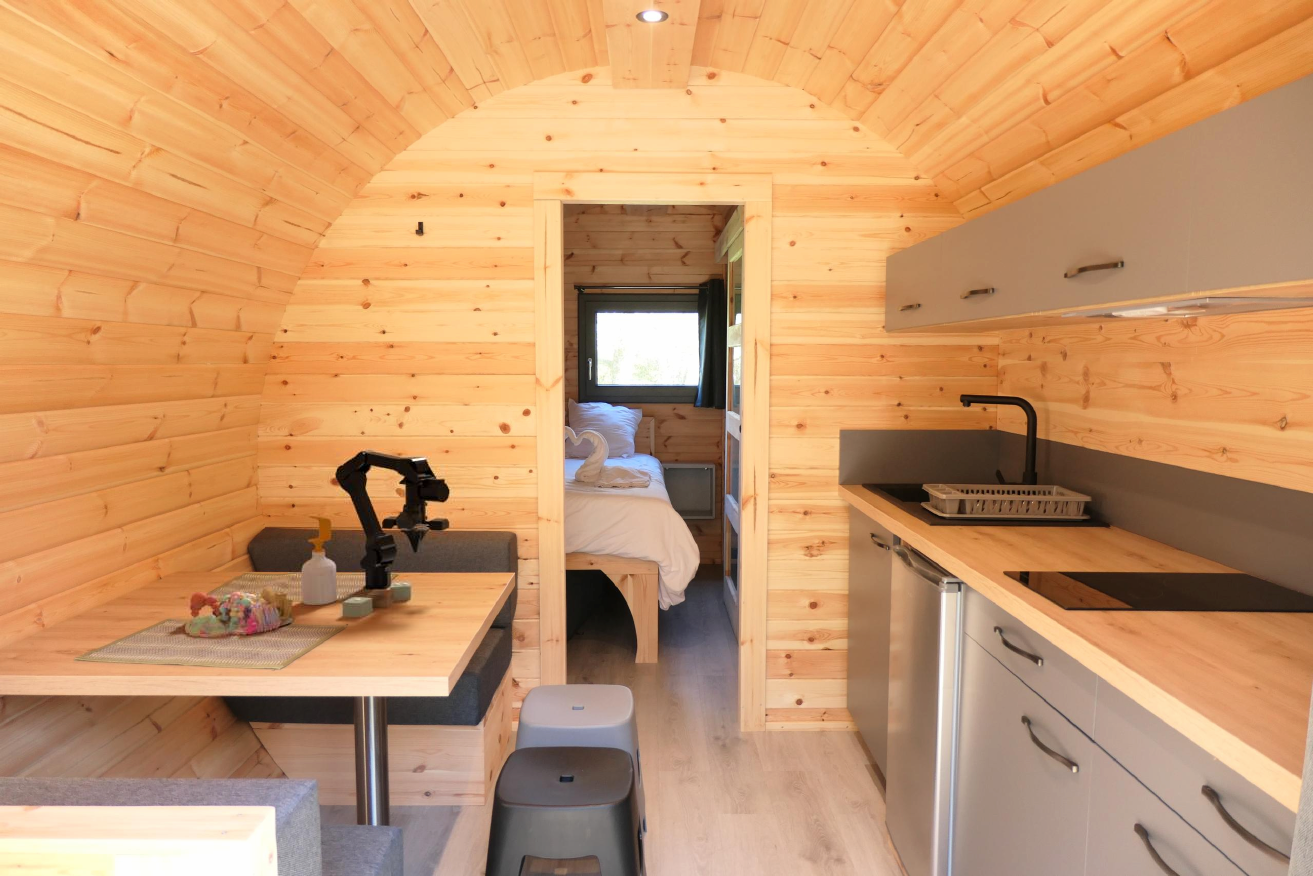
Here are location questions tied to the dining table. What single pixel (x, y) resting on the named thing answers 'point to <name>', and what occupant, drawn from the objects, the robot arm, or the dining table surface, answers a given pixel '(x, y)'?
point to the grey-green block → (357, 607)
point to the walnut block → (382, 598)
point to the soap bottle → (319, 570)
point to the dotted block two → (401, 590)
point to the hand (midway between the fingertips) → (416, 552)
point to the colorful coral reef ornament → (239, 613)
